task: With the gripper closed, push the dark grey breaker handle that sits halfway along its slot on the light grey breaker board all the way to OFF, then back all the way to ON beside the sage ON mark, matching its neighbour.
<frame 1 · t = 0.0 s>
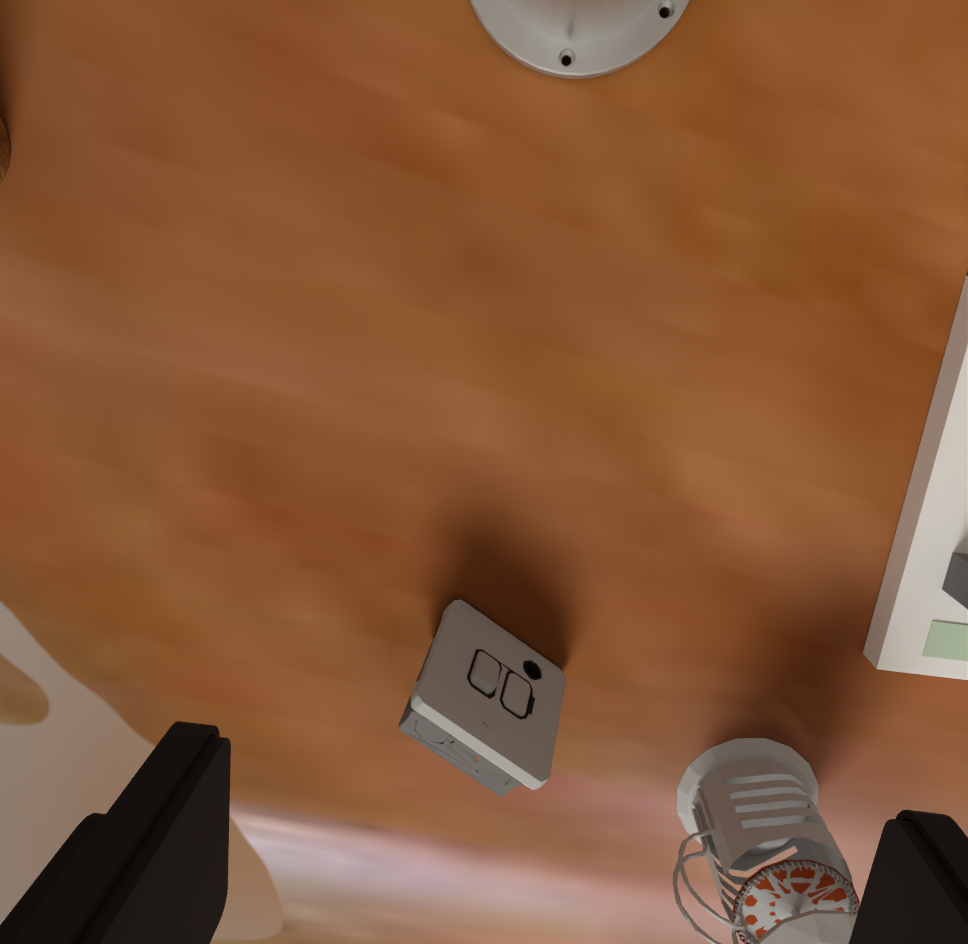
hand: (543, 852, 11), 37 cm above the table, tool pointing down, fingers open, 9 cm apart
french press: (733, 794, 53), on the table
electrical switch: (490, 661, 51), on the table
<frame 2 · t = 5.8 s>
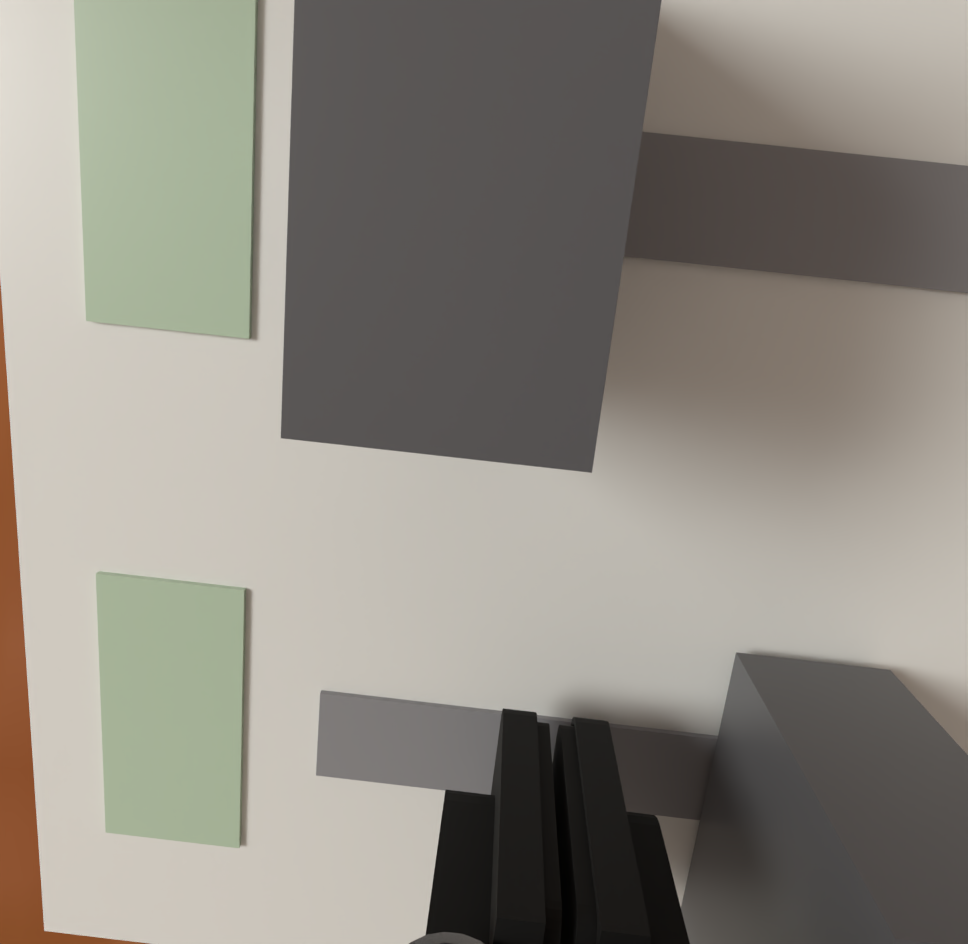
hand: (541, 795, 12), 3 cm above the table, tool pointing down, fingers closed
breaker board: (749, 490, 14), on the table
tripped handle: (845, 930, 10), point 5 cm above the table, slide at -0.7 cm, touching gripper
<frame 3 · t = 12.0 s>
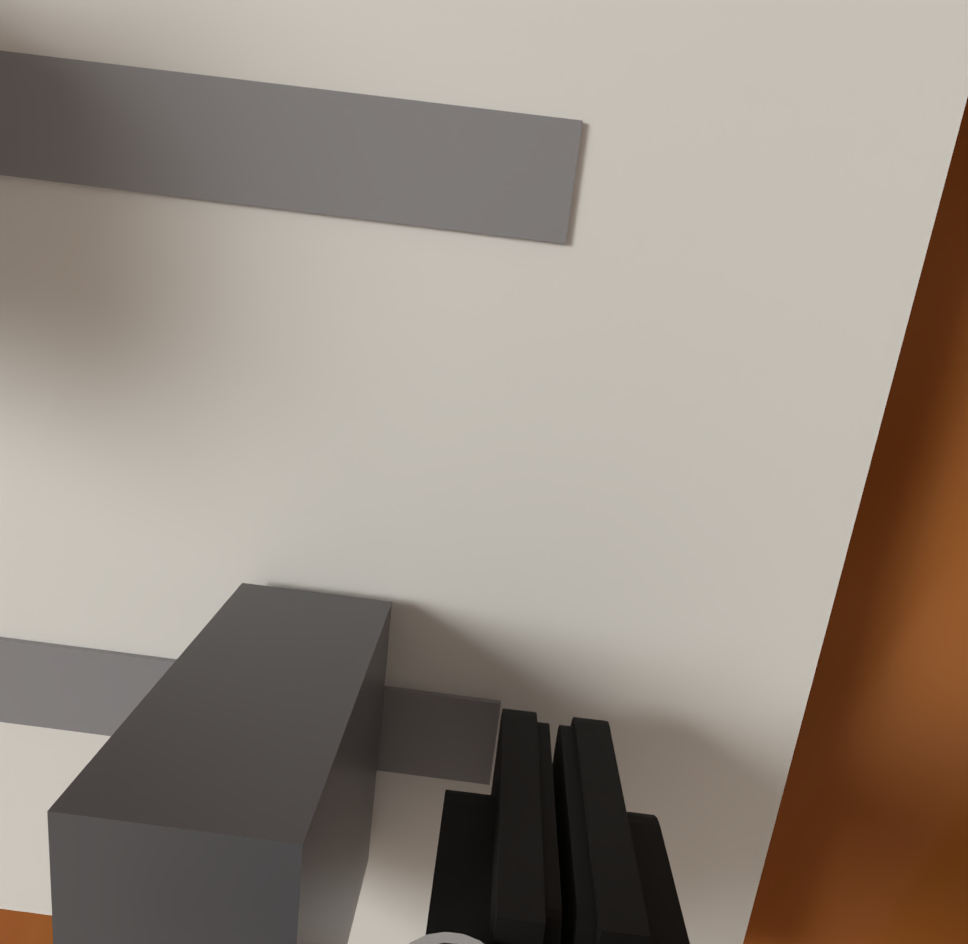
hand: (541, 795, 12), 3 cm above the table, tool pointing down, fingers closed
breaker board: (144, 411, 14), on the table
tripped handle: (257, 843, 10), point 5 cm above the table, slide at -3.8 cm, touching gripper
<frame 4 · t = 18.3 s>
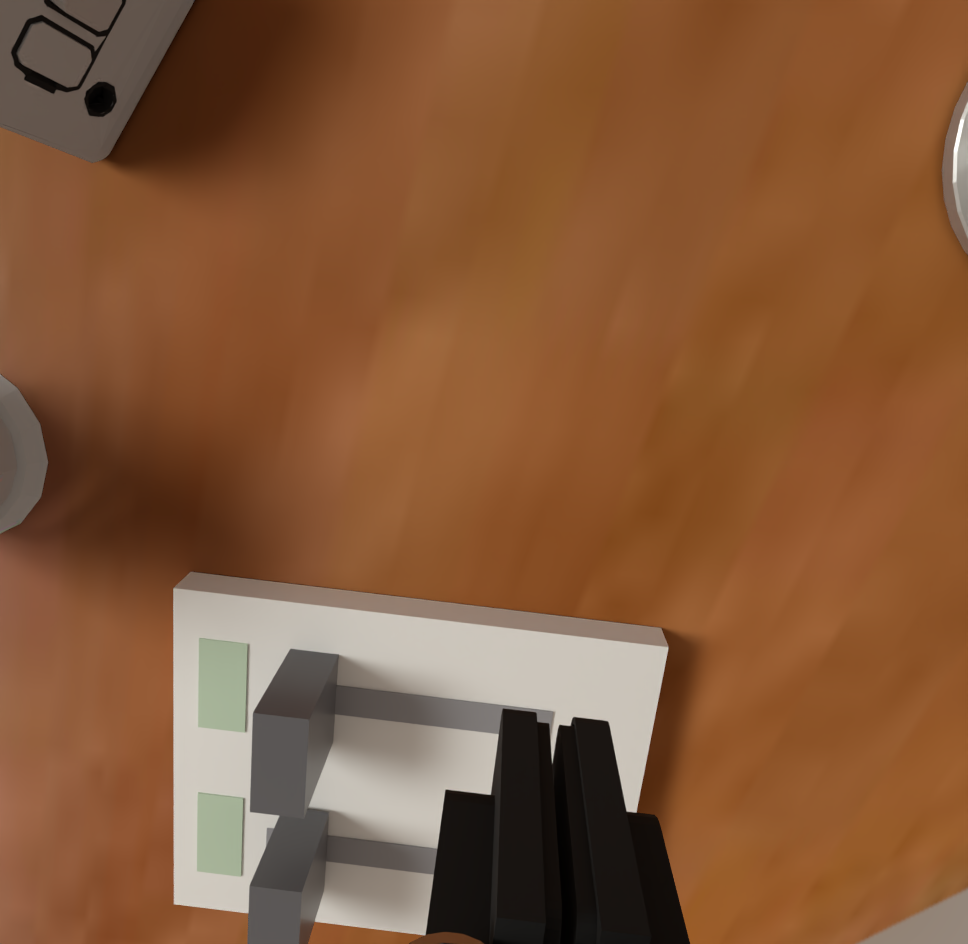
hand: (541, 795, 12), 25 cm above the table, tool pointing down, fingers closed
breaker board: (409, 760, 41), on the table
tripped handle: (289, 888, 38), point 5 cm above the table, slide at 4.9 cm
electrical switch: (103, 40, 32), on the table
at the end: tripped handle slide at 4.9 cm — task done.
